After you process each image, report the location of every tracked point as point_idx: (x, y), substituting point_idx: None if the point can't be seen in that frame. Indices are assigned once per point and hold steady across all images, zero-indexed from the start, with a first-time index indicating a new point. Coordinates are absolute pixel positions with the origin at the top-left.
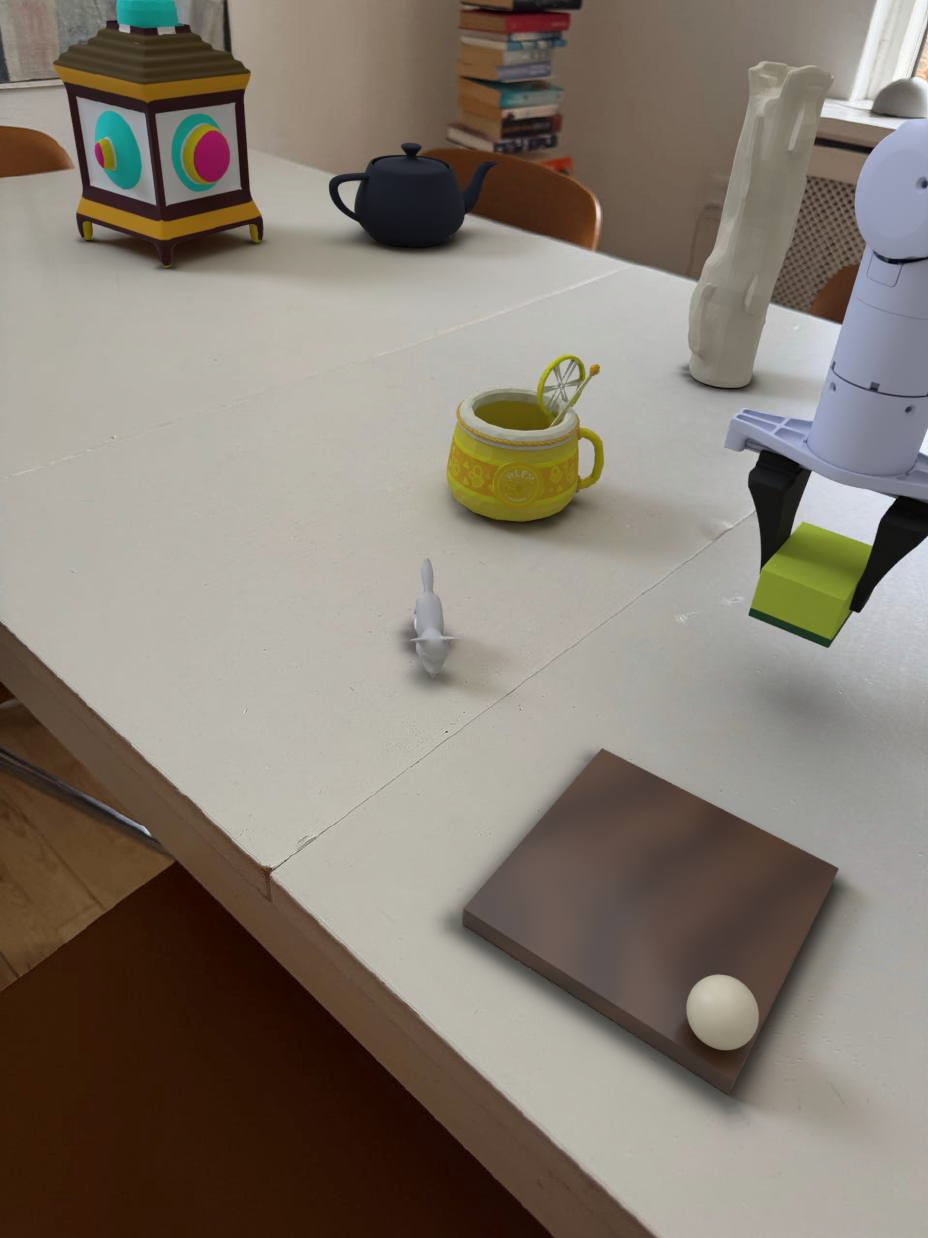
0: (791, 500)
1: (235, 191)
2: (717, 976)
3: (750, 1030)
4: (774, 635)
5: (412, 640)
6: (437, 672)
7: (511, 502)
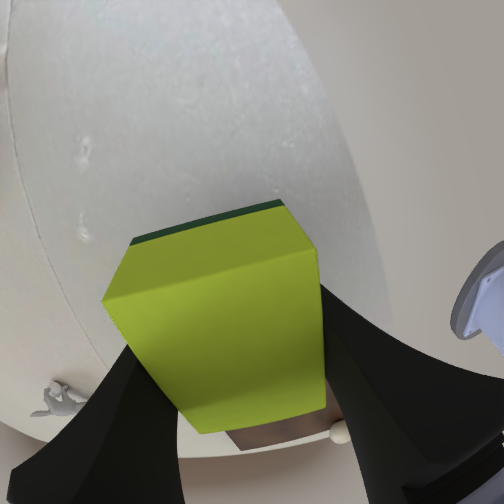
0: (160, 490)
1: None
2: (338, 439)
3: None
4: (160, 163)
5: None
6: None
7: None
